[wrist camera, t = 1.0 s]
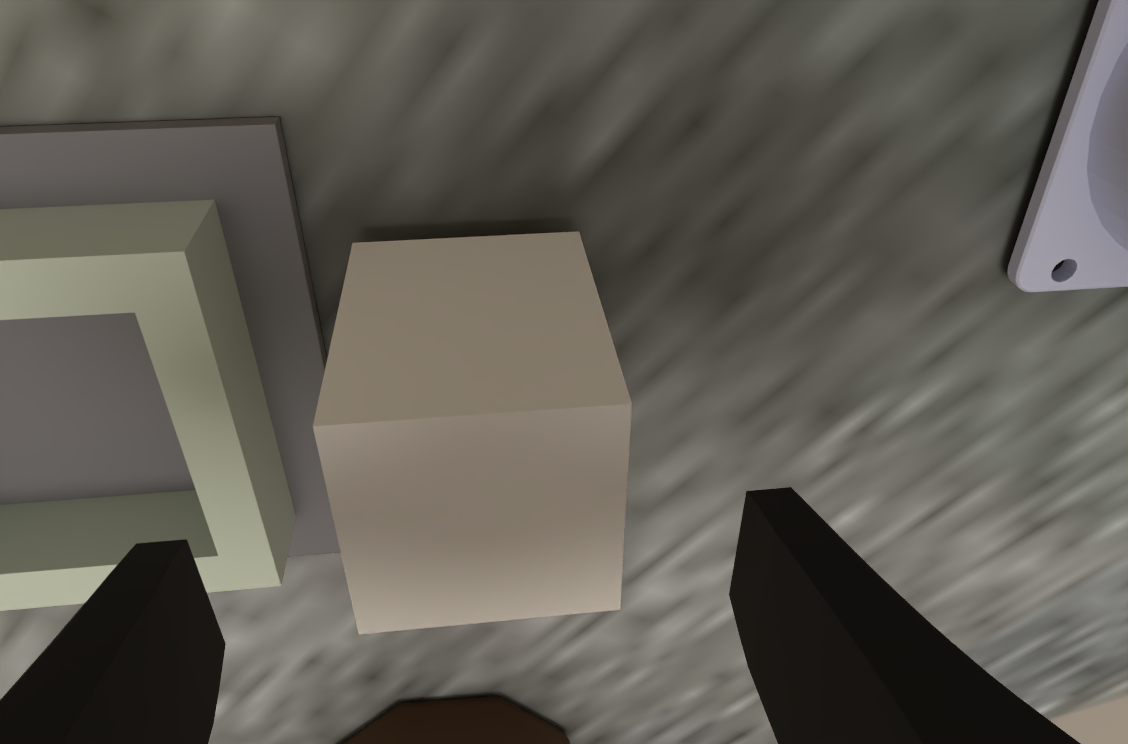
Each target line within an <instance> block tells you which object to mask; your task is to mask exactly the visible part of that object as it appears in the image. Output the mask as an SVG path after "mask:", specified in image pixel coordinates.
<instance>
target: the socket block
mask: <svg viewBox="0 0 1128 744" xmlns="http://www.w3.org/2000/svg"><path fill="white" fill-rule="evenodd" d="M326 363H327V357H326V352H325V347H324V342H323V337H322V332H321V327H320V322H319V317H318V312H317V307H316V302H315V297H314V291H313V286H312V281H311V276H310V271H309V266H308V261H307V256H306V251H305V246H304V241H303V236H302V231H301V226H300V221H299V215H298V210H297V205H296V200H295V195H294V190H293V185H292V180H291V175H290V170H289V165H288V160H287V155H286V150H285V145H284V139H283V134H282V129H281V124H280V119H279V117H258V118H230V119H203V120H175V121H147V122H119V123H91V124H63V125H35V126H8V127H0V611H3V610H15V609H26V608H37V607H49V606H60V605H71V604H82V603H85V602H86V601H87V600H88V599H89V598H90V596H91V595H92V594H93V593H94V592H95V590H96V589H97V588H98V587H99V586H100V585H101V583H102V582H103V581H104V580H105V579H106V577H107V576H108V575H109V574H110V573H111V572H112V570H113V569H114V568H115V567H116V566H117V565H118V563H119V562H120V561H121V560H122V559H123V558H124V557H125V555H126V554H127V553H128V552H129V551H130V550H131V549H132V548H133V547H134V545H135V544H136V543H147V542H159V541H171V540H183V539H187V541H188V543H189V546H190V549H191V552H192V554H193V557H194V560H195V563H196V565H197V568H198V571H199V573H200V576H201V579H202V582H203V584H204V587H205V590H206V592H218V591H230V590H241V589H252V588H263V587H275V586H281V584H282V579H283V574H284V570H285V565H286V560H287V557H292V556H304V555H316V554H328V553H339V552H340V547H339V543H338V538H337V534H336V529H335V525H334V520H333V516H332V511H331V507H330V502H329V497H328V493H327V488H326V484H325V479H324V475H323V470H322V466H321V461H320V457H319V452H318V448H317V443H316V439H315V434H314V430H313V423H314V418H315V414H316V409H317V405H318V400H319V395H320V391H321V386H322V381H323V377H324V372H325V368H326Z"/></svg>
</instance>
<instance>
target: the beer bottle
mask: <svg viewBox="0 0 1128 744" xmlns="http://www.w3.org/2000/svg"><path fill="white" fill-rule="evenodd" d="M342 744H570V742H569V739H568V738H567V737H566V735H565V734H564V733H563V731H562V730H561V729H559V728H557V727H555V726H553V725H551V724H549V723H548V722H546V721H544V720H542V719H540V718H538V717H536V716H535V715H533V714H531V713H529V712H527V711H525V710H523V709H522V708H520V707H518V706H516V705H514V704H512V703H510V702H509V701H507V700H505V699H503V698H501V697H499V696H489V697H475V698H460V699H446V700H432V701H417V702H403V703H400V704H398V705H397V706H395V707H394V708H392V709H391V710H390V711H388V712H387V713H385V714H384V715H382V716H381V717H380V718H378V719H377V720H375V721H374V722H372V723H371V724H370V725H368V726H367V727H365V728H364V729H362V730H361V731H360V732H358V733H357V734H355V735H354V736H352V737H351V738H350V739H348V740H347V741H345V742H344V743H342Z"/></svg>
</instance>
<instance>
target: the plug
mask: <svg viewBox="0 0 1128 744" xmlns="http://www.w3.org/2000/svg"><path fill="white" fill-rule="evenodd" d="M631 410H632V403H631V399H630V396H629V393H628V390H627V386H626V383H625V380H624V377H623V373H622V370H621V367H620V363H619V360H618V357H617V354H616V350H615V347H614V344H613V341H612V337H611V334H610V331H609V328H608V324H607V321H606V318H605V315H604V311H603V308H602V305H601V302H600V298H599V295H598V292H597V289H596V285H595V282H594V279H593V276H592V272H591V269H590V266H589V262H588V259H587V256H586V253H585V249H584V246H583V243H582V240H581V236H580V233H579V231H578V232H558V233H538V234H518V235H499V236H479V237H459V238H439V239H419V240H400V241H380V242H360V243H352V248H351V252H350V257H349V261H348V266H347V271H346V275H345V280H344V284H343V289H342V294H341V298H340V303H339V308H338V312H337V317H336V321H335V326H334V331H333V335H332V340H331V344H330V349H329V354H328V358H327V363H326V368H325V372H324V377H323V381H322V386H321V391H320V395H319V400H318V405H317V409H316V414H315V418H314V423H313V430H314V434H315V439H316V443H317V448H318V452H319V457H320V461H321V466H322V470H323V475H324V479H325V484H326V488H327V493H328V497H329V502H330V507H331V511H332V516H333V520H334V525H335V529H336V534H337V538H338V543H339V547H340V552H341V556H342V561H343V565H344V570H345V574H346V579H347V583H348V588H349V592H350V597H351V601H352V606H353V610H354V615H355V619H356V624H357V628H358V633H359V634H367V633H378V632H389V631H399V630H410V629H420V628H431V627H441V626H452V625H462V624H473V623H484V622H494V621H505V620H515V619H526V618H536V617H547V616H558V615H568V614H579V613H589V612H600V611H610V610H620V601H621V584H622V567H623V549H624V532H625V514H626V497H627V480H628V462H629V445H630V428H631Z"/></svg>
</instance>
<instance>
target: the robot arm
mask: <svg viewBox="0 0 1128 744" xmlns="http://www.w3.org/2000/svg"><path fill="white" fill-rule="evenodd" d="M1062 260H1065V261H1064V263H1063V264H1062V266H1061V267H1060V268H1059V269H1057V270H1056V271H1054V272H1052V270H1053V269H1054V267H1055V266H1056V265H1057V264H1058V263H1059V262H1061V261H1062ZM1007 274H1008V277H1009V279H1010V281H1011V282H1013V283H1014V284H1015V285H1016V286H1017V287H1019V288H1020V289H1021V290H1023V291H1025V292H1046V291H1063V290H1079V289H1095V288H1112V287H1128V0H1099V1H1098V4H1097V7H1096V10H1095V13H1094V16H1093V19H1092V22H1091V24H1090V27H1089V30H1088V33H1087V36H1086V39H1085V42H1084V45H1083V48H1082V51H1081V54H1080V57H1079V60H1078V63H1077V66H1076V68H1075V71H1074V74H1073V77H1072V80H1071V83H1070V86H1069V89H1068V92H1067V95H1066V98H1065V101H1064V104H1063V107H1062V110H1061V112H1060V115H1059V118H1058V121H1057V124H1056V127H1055V130H1054V133H1053V136H1052V139H1051V142H1050V145H1049V148H1048V151H1047V154H1046V156H1045V159H1044V162H1043V165H1042V168H1041V171H1040V174H1039V177H1038V180H1037V183H1036V186H1035V189H1034V192H1033V195H1032V198H1031V200H1030V203H1029V206H1028V209H1027V212H1026V215H1025V218H1024V221H1023V224H1022V227H1021V230H1020V233H1019V236H1018V239H1017V242H1016V244H1015V247H1014V250H1013V253H1012V256H1011V259H1010V262H1009V265H1008V272H1007ZM729 596H730V600H731V604H732V608H733V612H734V616H735V620H736V624H737V628H738V632H739V635H740V639H741V643H742V646H743V650H744V654H745V657H746V661H747V664H748V667H749V670H750V673H751V675H752V678H753V681H754V683H755V686H756V688H757V691H758V694H759V696H760V699H761V701H762V704H763V706H764V709H765V712H766V714H767V717H768V719H769V722H770V724H771V727H772V729H773V732H774V734H775V737H776V739H777V742H778V744H1080V743H1079V742H1077V741H1076V740H1075V739H1073V738H1072V737H1071V736H1069V735H1068V734H1066V733H1065V732H1064V731H1063V730H1061V729H1060V728H1058V727H1057V726H1056V725H1055V724H1053V723H1052V722H1051V721H1049V720H1048V719H1047V718H1045V717H1044V716H1043V715H1041V714H1040V713H1039V712H1037V711H1036V710H1035V709H1033V708H1032V707H1031V706H1029V705H1028V704H1027V703H1025V702H1024V701H1023V700H1021V699H1020V698H1019V697H1017V696H1016V695H1015V694H1014V693H1012V692H1011V691H1010V690H1008V689H1007V688H1006V687H1005V686H1003V685H1002V684H1001V683H1000V682H998V681H997V680H996V679H995V678H993V677H992V676H991V675H990V674H989V673H987V672H986V671H985V670H984V669H983V668H981V667H980V666H979V665H978V664H977V663H975V662H974V661H973V660H972V659H971V658H970V657H968V656H967V655H966V654H965V653H964V652H963V651H961V650H960V649H959V648H958V647H957V646H956V645H954V644H953V643H952V642H951V641H950V640H949V639H947V638H946V637H945V636H944V635H943V634H942V633H941V632H940V631H938V630H937V629H936V628H935V627H934V626H933V625H932V624H931V623H930V622H928V621H927V620H926V619H925V618H924V617H923V616H922V615H921V614H920V613H919V612H918V611H916V610H915V609H914V608H913V607H912V606H911V605H910V604H909V603H908V602H907V601H906V600H905V599H904V598H903V597H901V596H900V595H899V594H898V593H897V592H896V591H895V590H894V589H893V588H892V587H891V586H890V585H889V584H888V583H887V582H885V581H884V580H883V579H882V578H881V577H880V576H879V575H878V574H877V573H876V572H875V571H874V570H873V569H872V568H871V567H870V566H869V565H868V564H867V563H866V562H865V561H864V560H863V559H862V558H861V557H860V556H859V555H858V554H857V553H856V552H855V551H854V550H853V549H852V548H851V547H850V546H849V545H848V544H847V543H846V542H845V541H844V540H843V539H842V538H841V537H840V536H839V535H838V534H837V533H836V532H835V531H834V530H833V529H832V528H831V527H830V526H829V525H828V524H827V523H826V522H825V521H824V520H823V519H822V518H821V517H820V516H819V515H818V514H817V513H816V512H815V511H814V510H813V509H812V508H811V507H810V506H809V505H808V504H807V503H806V502H805V501H804V500H803V499H802V498H801V497H800V496H799V495H798V494H797V493H796V492H795V491H794V490H793V489H792V488H791V487H790V488H778V489H766V490H755V491H746V497H745V503H744V509H743V515H742V521H741V527H740V533H739V539H738V545H737V551H736V557H735V563H734V569H733V575H732V580H731V586H730V592H729ZM224 651H225V641H224V639H223V636H222V633H221V631H220V628H219V625H218V622H217V620H216V617H215V614H214V611H213V609H212V606H211V603H210V601H209V598H208V595H207V592H206V590H205V587H204V584H203V582H202V579H201V576H200V573H199V571H198V568H197V565H196V563H195V560H194V557H193V554H192V552H191V549H190V546H189V543H188V541H187V539H183V540H171V541H159V542H147V543H136V544H135V545H134V547H133V548H132V549H131V550H130V551H129V552H128V553H127V554H126V555H125V557H124V558H123V559H122V560H121V561H120V562H119V563H118V565H117V566H116V567H115V568H114V569H113V570H112V572H111V573H110V574H109V575H108V576H107V577H106V579H105V580H104V581H103V582H102V583H101V585H100V586H99V587H98V588H97V589H96V590H95V592H94V593H93V594H92V595H91V596H90V598H89V599H88V600H87V601H86V602H85V603H84V605H83V606H82V607H81V608H80V609H79V611H78V612H77V613H76V614H75V615H74V616H73V618H72V619H71V620H70V621H69V622H68V623H67V625H66V626H65V627H64V628H63V629H62V630H61V632H60V633H59V634H58V635H57V636H56V638H55V639H54V640H53V641H52V642H51V643H50V644H49V646H48V647H47V648H46V649H45V650H44V651H43V652H42V654H41V655H40V656H39V657H38V658H37V659H36V660H35V661H34V663H33V664H32V665H31V666H30V667H29V668H28V669H27V670H26V672H25V673H24V674H23V675H22V676H21V677H20V678H19V680H18V681H17V682H16V683H15V684H14V685H13V686H12V687H11V689H10V690H9V691H8V692H7V693H6V694H5V695H4V696H3V698H2V699H1V700H0V744H208V742H209V738H210V734H211V730H212V727H213V723H214V717H215V711H216V704H217V698H218V692H219V686H220V679H221V672H222V665H223V658H224Z"/></svg>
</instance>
